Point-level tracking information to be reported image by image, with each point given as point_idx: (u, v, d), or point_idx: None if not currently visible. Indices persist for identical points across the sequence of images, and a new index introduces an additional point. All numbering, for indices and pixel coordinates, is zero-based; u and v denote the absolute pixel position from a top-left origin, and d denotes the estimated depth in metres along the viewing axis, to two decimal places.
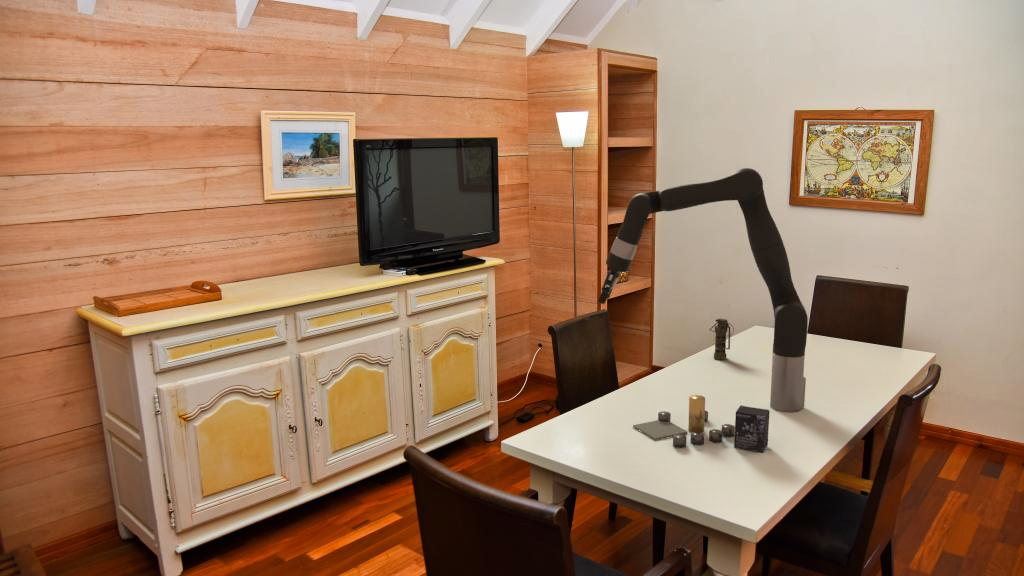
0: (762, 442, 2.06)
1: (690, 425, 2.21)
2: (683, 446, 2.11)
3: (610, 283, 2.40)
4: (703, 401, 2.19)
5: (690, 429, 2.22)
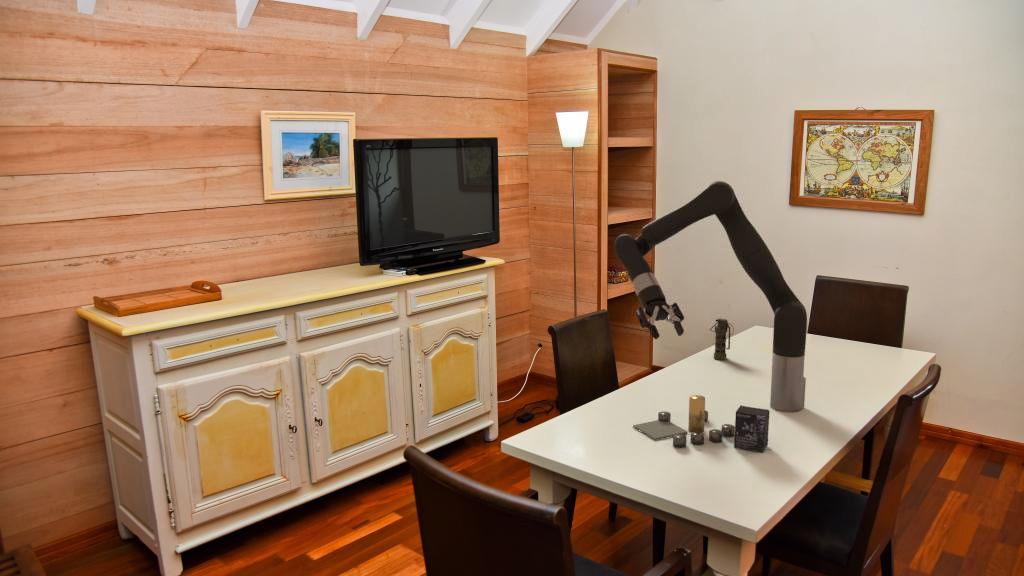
0: (762, 442, 2.06)
1: (690, 425, 2.21)
2: (683, 446, 2.11)
3: (640, 315, 2.31)
4: (703, 402, 2.19)
5: (690, 429, 2.22)
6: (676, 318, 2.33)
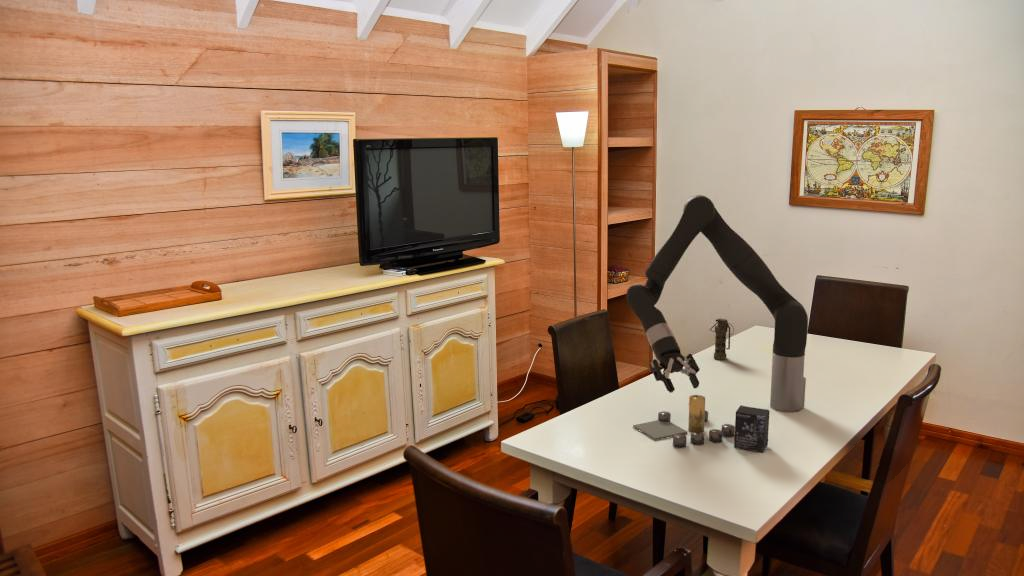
0: (762, 442, 2.06)
1: (690, 425, 2.21)
2: (683, 446, 2.11)
3: (655, 368, 2.26)
4: (703, 402, 2.19)
5: (690, 429, 2.22)
6: (691, 370, 2.29)
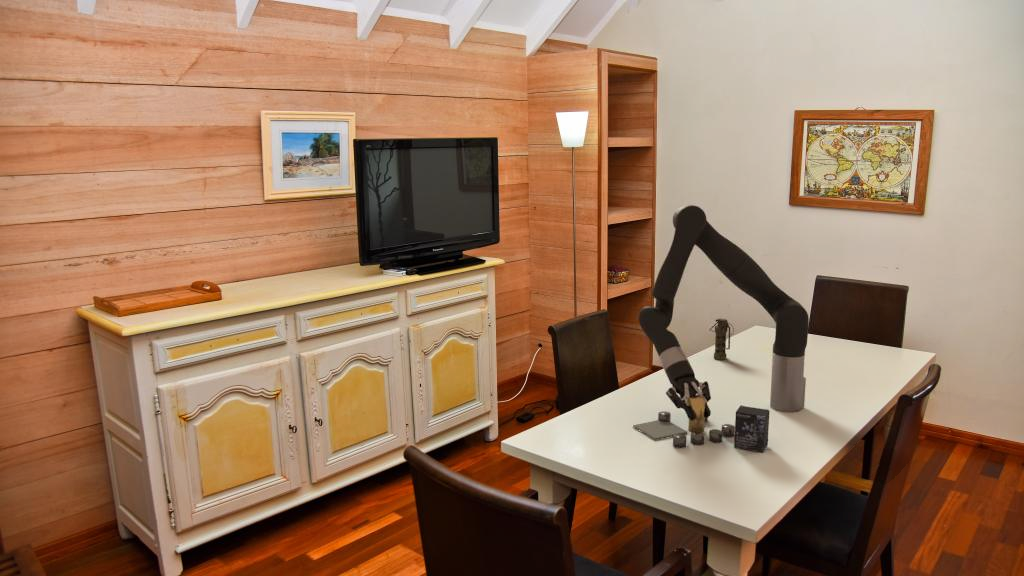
0: (762, 442, 2.06)
1: (690, 425, 2.21)
2: (683, 446, 2.11)
3: (673, 397, 2.21)
4: (703, 401, 2.19)
5: (690, 429, 2.22)
6: None
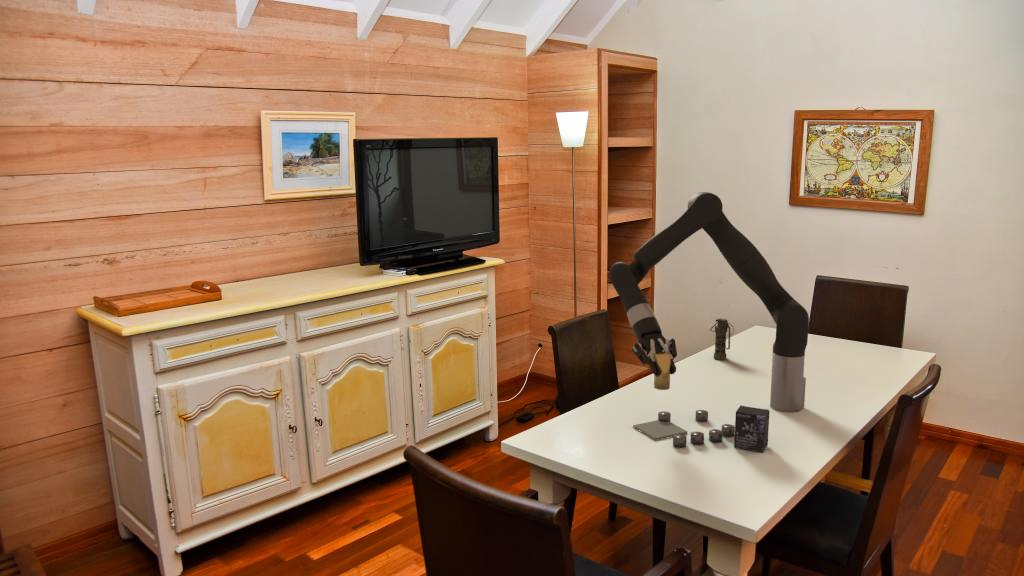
0: (762, 442, 2.06)
1: (655, 381, 2.20)
2: (683, 446, 2.11)
3: (639, 352, 2.19)
4: (669, 357, 2.18)
5: (655, 385, 2.20)
6: None
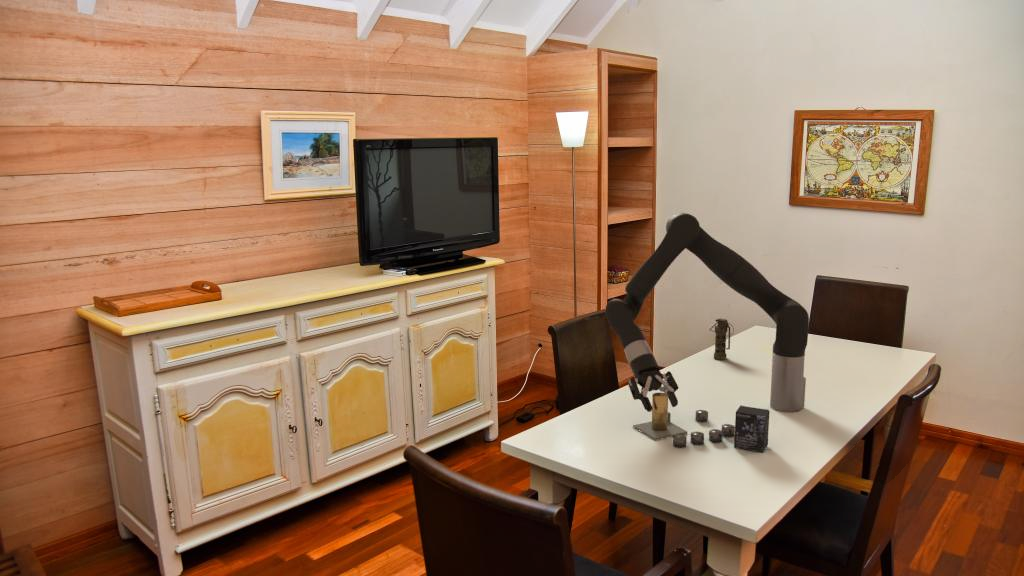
0: (762, 442, 2.06)
1: (653, 422, 2.22)
2: (683, 446, 2.11)
3: (632, 386, 2.22)
4: (666, 399, 2.20)
5: (653, 426, 2.22)
6: (670, 388, 2.24)
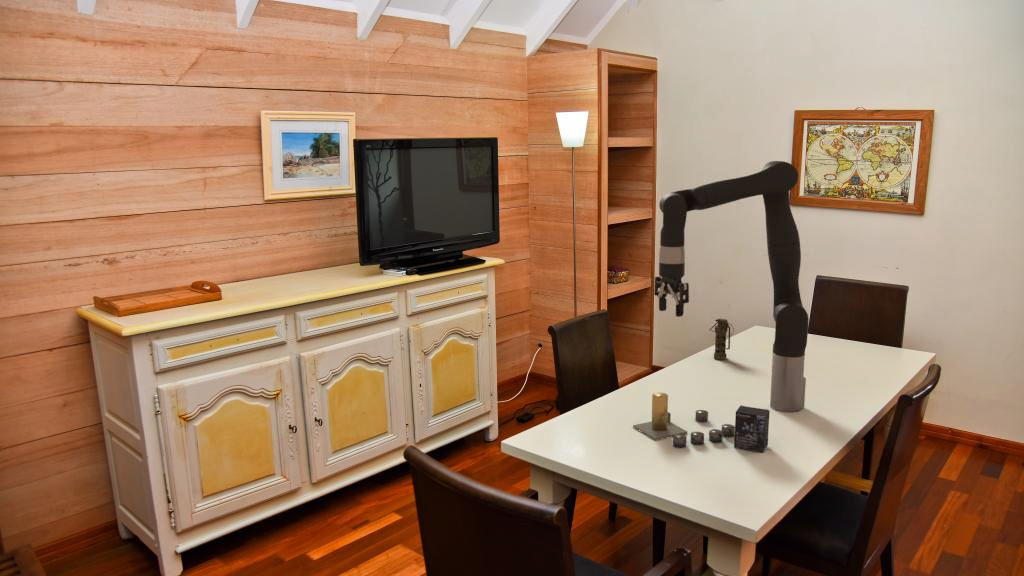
0: (762, 442, 2.06)
1: (653, 422, 2.22)
2: (683, 446, 2.11)
3: (687, 292, 2.28)
4: (666, 399, 2.20)
5: (653, 426, 2.22)
6: None
